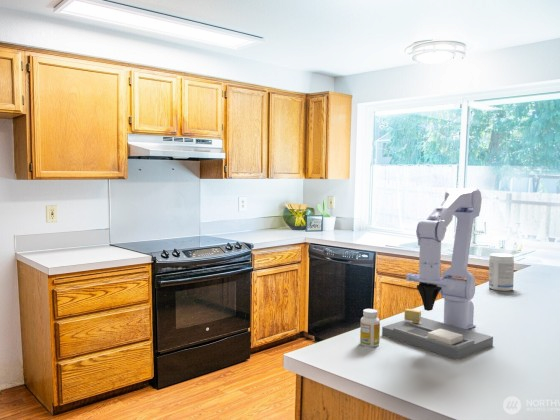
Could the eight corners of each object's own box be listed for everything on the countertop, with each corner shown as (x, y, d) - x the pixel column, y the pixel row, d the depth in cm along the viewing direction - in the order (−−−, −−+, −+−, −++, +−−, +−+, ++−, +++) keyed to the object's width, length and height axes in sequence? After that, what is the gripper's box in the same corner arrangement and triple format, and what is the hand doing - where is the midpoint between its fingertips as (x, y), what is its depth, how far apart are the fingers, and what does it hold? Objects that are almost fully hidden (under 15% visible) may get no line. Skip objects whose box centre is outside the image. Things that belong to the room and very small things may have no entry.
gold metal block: (420, 322, 149) (421, 310, 148) (418, 324, 147) (419, 312, 147) (406, 320, 151) (406, 308, 151) (404, 321, 149) (404, 310, 149)
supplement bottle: (376, 340, 140) (377, 307, 139) (381, 347, 134) (382, 313, 134) (358, 340, 140) (359, 307, 139) (362, 347, 134) (362, 313, 134)
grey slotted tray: (418, 323, 156) (418, 313, 156) (492, 345, 137) (493, 333, 136) (382, 334, 145) (382, 323, 145) (457, 360, 125) (457, 346, 125)
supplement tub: (516, 289, 206) (518, 255, 205) (508, 292, 199) (509, 257, 198) (493, 285, 213) (494, 252, 212) (484, 288, 206) (485, 254, 205)
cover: (440, 334, 138) (440, 328, 137) (462, 340, 132) (462, 334, 132) (427, 338, 134) (427, 332, 134) (450, 345, 128) (450, 339, 128)
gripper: (399, 260, 139) (398, 306, 140) (444, 268, 128) (442, 318, 129) (414, 257, 143) (413, 302, 144) (459, 265, 132) (457, 313, 133)
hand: (428, 309), depth 137 cm, fingers closed
